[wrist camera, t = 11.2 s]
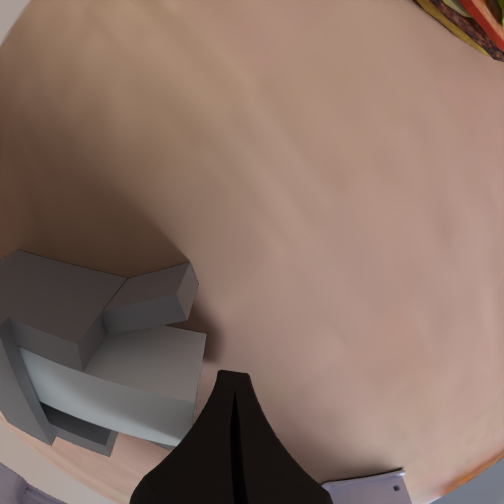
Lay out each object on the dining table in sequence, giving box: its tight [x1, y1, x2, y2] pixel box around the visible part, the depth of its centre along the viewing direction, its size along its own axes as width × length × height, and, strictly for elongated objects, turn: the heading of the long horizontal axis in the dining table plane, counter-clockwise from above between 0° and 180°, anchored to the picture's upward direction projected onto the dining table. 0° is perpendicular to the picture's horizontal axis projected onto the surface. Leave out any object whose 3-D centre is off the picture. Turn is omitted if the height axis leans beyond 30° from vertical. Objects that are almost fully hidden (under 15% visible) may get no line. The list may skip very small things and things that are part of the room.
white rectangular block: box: [17, 325, 207, 446], centre depth 11 cm, size 9×4×4 cm, turn 78°
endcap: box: [0, 250, 199, 457], centre depth 10 cm, size 10×10×5 cm
